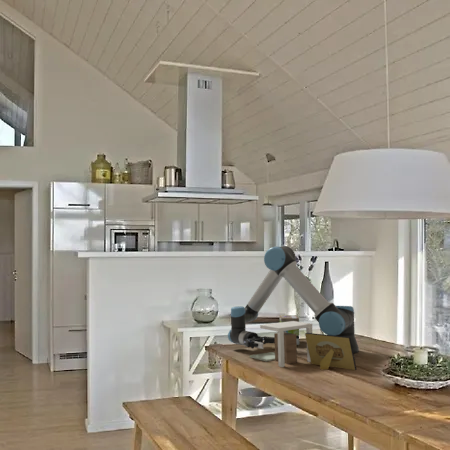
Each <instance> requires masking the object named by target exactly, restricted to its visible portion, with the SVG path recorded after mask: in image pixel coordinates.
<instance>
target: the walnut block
mask: <svg viewBox="0 0 450 450" xmlns="http://www.w3.org/2000/svg"><path fill="white" fill-rule="evenodd" d="M273 337H274V338H275V343H274V353H275V360H274V361H275V362H278V334H277V332H275V333H274V335H273ZM297 346H298V345H297V342H296V334H291V333H286V332H284V359H285V364H286V365H289V364H296V363H298V349H297V348H298V347H297Z"/></svg>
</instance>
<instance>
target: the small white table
mask: <svg viewBox="0 0 450 450" xmlns="http://www.w3.org/2000/svg"><path fill="white" fill-rule="evenodd" d="M259 327H260V329H263V330H268V331H274V332H276V333H277V334H278V365H277V366H278V367H279V368H284V367H285V359H284V331H287V330H294V329H299V330H302V329H306V330H305V331H306V332H305V333H313V323H309V322H302V321H299V322H297V321H289V322H281V323H280V322H274V323H267V324H260V325H259ZM306 359H307V360H306V361H307V362H308V363H311V360H310V355H309V350H308V346H307V345H306Z"/></svg>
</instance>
